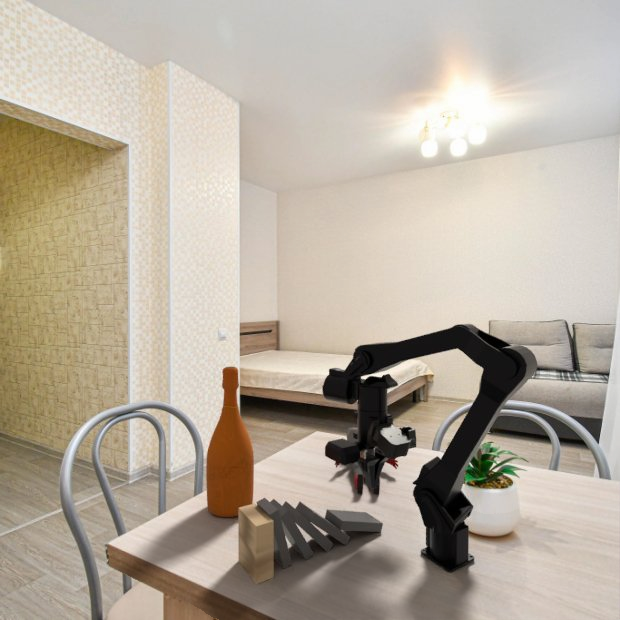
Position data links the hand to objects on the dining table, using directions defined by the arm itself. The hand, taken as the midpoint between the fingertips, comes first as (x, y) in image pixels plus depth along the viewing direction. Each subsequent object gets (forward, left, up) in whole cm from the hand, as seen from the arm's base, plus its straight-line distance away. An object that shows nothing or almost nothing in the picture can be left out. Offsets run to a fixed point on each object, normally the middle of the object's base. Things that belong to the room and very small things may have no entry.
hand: (371, 488), depth 83 cm
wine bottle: (+22, +21, -8) cm, 31 cm away
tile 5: (0, +20, -7) cm, 21 cm away
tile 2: (0, +8, -7) cm, 10 cm away
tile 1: (0, 0, -7) cm, 7 cm away
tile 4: (0, +16, -7) cm, 17 cm away
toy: (+23, -17, -8) cm, 30 cm away
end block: (0, +25, -8) cm, 26 cm away
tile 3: (0, +12, -7) cm, 13 cm away
